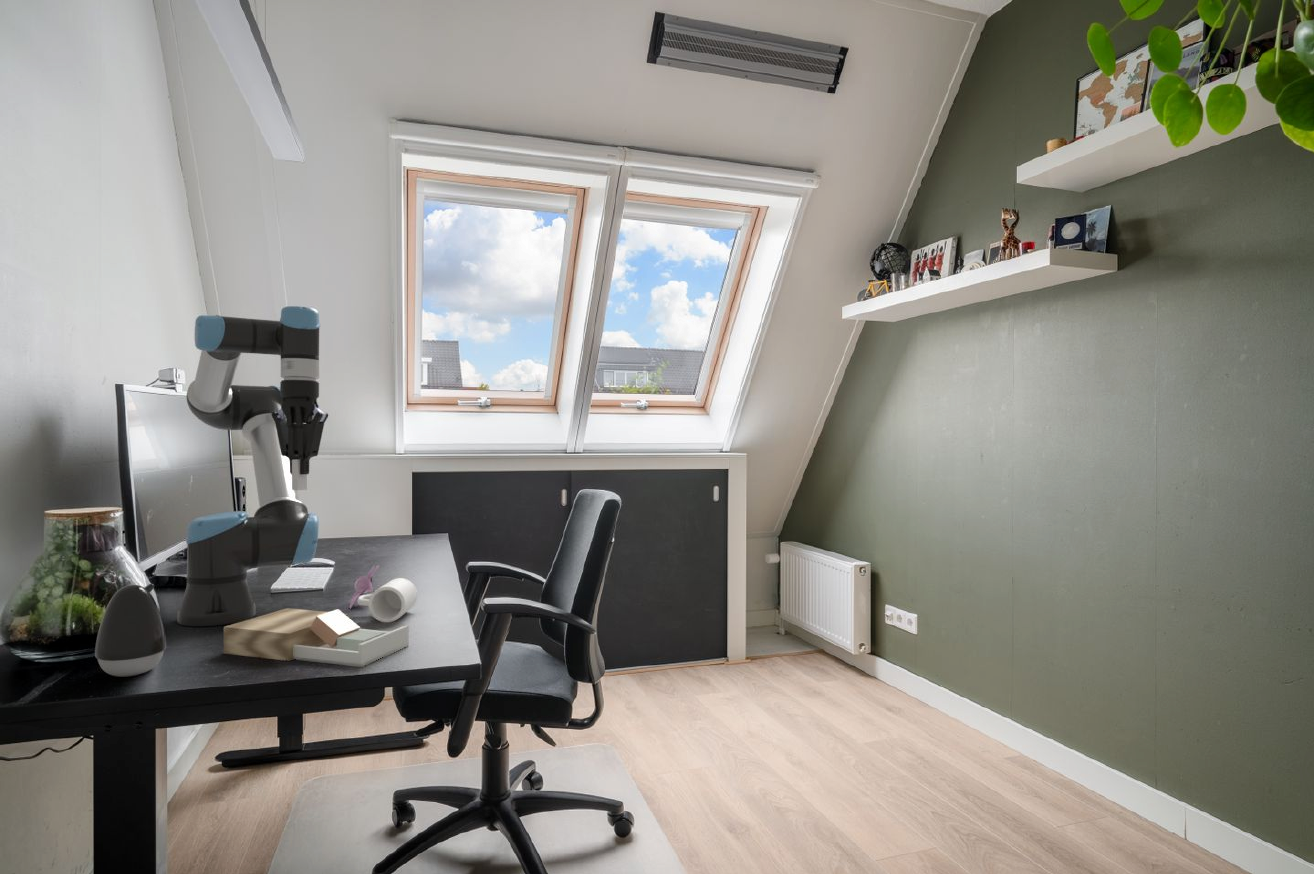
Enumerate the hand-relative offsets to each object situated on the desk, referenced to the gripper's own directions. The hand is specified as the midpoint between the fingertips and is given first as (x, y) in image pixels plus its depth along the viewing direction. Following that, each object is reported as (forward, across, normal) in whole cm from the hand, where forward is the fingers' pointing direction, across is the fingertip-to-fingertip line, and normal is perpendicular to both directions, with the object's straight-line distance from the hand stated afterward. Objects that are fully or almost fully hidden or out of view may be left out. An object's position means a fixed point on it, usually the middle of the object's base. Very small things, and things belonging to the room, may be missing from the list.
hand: (299, 489), depth 164 cm
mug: (+30, +12, +13) cm, 35 cm away
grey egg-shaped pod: (+30, -5, -34) cm, 45 cm away
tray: (+29, +24, -12) cm, 40 cm away
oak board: (+29, +8, -12) cm, 33 cm away
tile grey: (+26, +25, -12) cm, 38 cm away
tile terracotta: (+26, +19, -12) cm, 35 cm away
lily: (+30, 0, +22) cm, 37 cm away
